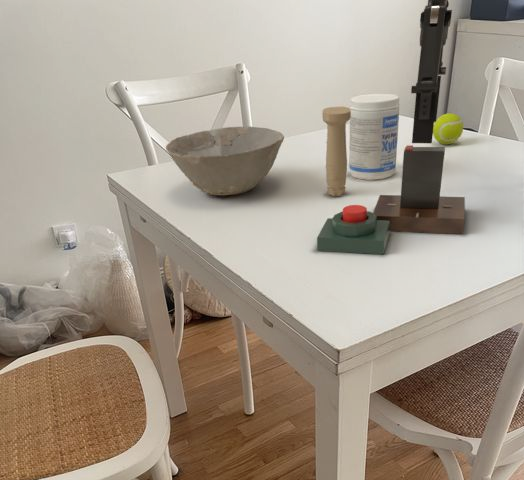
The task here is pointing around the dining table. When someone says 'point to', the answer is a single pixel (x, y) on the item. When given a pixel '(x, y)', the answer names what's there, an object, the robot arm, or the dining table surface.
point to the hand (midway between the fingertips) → (424, 131)
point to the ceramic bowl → (226, 158)
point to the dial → (422, 177)
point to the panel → (422, 215)
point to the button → (354, 213)
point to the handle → (336, 148)
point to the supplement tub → (373, 136)
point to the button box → (354, 235)
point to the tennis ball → (448, 128)
